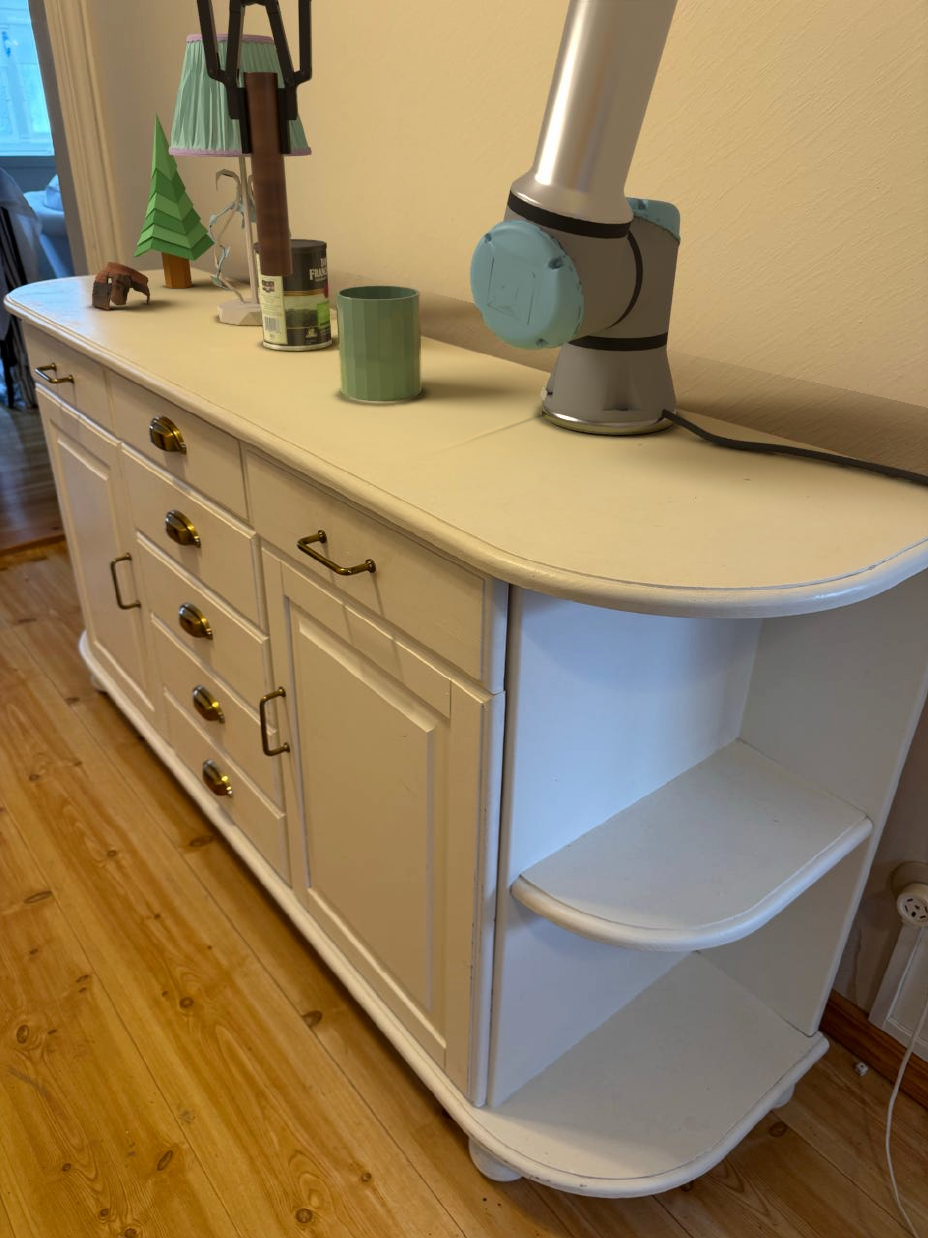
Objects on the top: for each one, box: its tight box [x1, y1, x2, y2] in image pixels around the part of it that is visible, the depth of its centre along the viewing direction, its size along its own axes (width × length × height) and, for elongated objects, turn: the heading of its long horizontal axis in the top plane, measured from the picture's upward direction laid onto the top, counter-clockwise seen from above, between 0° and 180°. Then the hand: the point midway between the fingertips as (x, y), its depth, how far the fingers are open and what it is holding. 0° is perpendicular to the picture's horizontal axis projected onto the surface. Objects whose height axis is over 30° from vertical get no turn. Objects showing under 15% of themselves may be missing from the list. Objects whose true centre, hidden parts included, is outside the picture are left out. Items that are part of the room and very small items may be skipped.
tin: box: [335, 284, 423, 402], centre depth 112 cm, size 10×10×12 cm
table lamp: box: [169, 33, 313, 326], centre depth 145 cm, size 22×22×40 cm
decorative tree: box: [132, 112, 216, 289], centre depth 174 cm, size 14×16×30 cm
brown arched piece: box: [91, 261, 151, 311], centre depth 161 cm, size 12×10×8 cm
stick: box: [243, 72, 293, 276], centre depth 107 cm, size 4×4×21 cm
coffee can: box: [253, 238, 333, 352], centre depth 135 cm, size 10×10×14 cm
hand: (266, 152), depth 105 cm, fingers closed on stick, 4 cm apart
